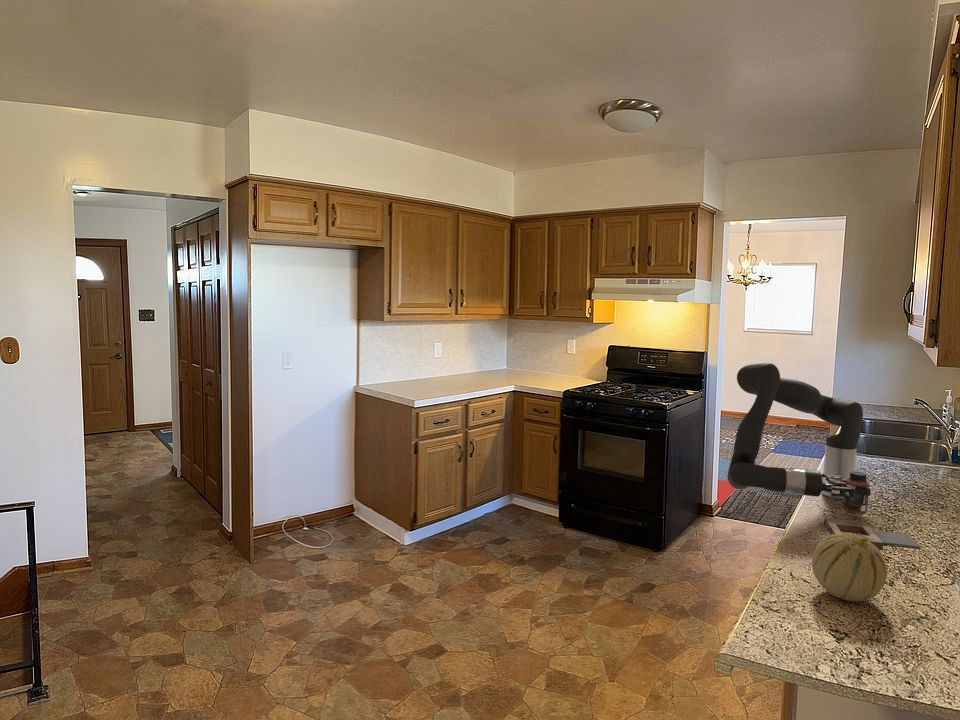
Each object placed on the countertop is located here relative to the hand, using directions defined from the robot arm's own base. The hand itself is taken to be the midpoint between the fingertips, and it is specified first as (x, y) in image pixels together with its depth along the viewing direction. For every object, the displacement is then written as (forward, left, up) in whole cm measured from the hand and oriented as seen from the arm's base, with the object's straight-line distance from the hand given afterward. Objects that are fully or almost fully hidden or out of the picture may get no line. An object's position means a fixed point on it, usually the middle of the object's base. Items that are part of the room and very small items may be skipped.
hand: (866, 488), depth 178 cm
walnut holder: (0, -3, -14) cm, 14 cm away
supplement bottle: (0, -2, -7) cm, 8 cm away
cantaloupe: (+43, -15, -14) cm, 48 cm away
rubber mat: (0, +8, -14) cm, 16 cm away
